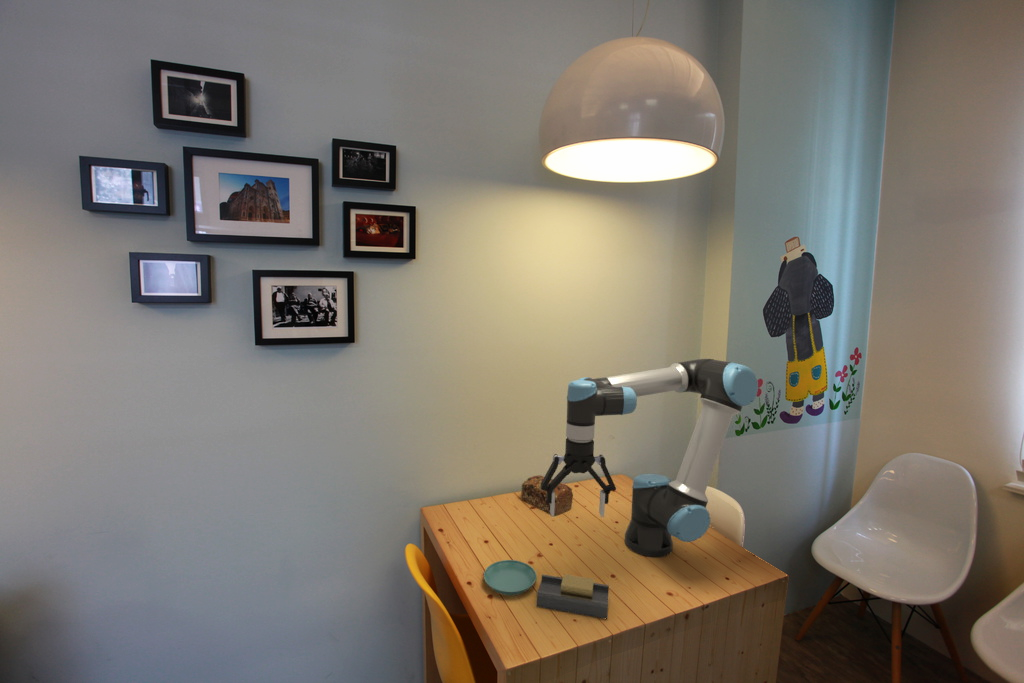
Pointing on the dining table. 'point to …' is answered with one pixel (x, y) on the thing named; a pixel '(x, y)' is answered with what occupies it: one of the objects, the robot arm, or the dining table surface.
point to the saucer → (510, 577)
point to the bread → (539, 497)
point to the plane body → (572, 598)
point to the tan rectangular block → (577, 586)
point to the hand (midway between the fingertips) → (576, 514)
